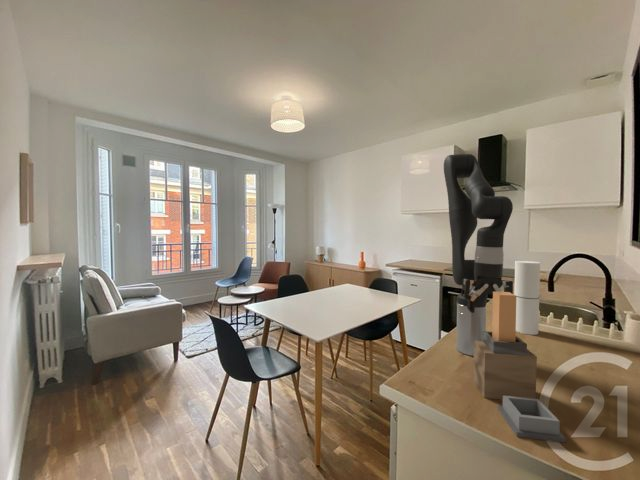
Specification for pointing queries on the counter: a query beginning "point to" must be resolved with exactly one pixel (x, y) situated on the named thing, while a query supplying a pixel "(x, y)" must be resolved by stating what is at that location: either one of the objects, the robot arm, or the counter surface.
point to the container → (527, 296)
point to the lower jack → (530, 419)
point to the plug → (504, 317)
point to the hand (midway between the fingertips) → (485, 312)
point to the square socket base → (504, 368)
